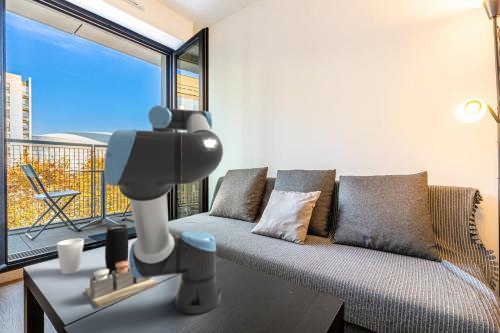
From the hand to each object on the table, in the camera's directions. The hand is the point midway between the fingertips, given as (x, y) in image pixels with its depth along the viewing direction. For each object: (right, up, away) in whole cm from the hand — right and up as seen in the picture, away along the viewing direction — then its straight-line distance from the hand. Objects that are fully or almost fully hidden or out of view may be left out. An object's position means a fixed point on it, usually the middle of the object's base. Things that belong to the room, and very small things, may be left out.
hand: (161, 206), depth 95 cm
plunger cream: (-18, -28, -11) cm, 35 cm away
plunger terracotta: (-13, -28, -5) cm, 31 cm away
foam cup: (-44, -30, +9) cm, 54 cm away
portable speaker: (-24, -31, +11) cm, 40 cm away
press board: (-13, -30, -5) cm, 33 cm away
